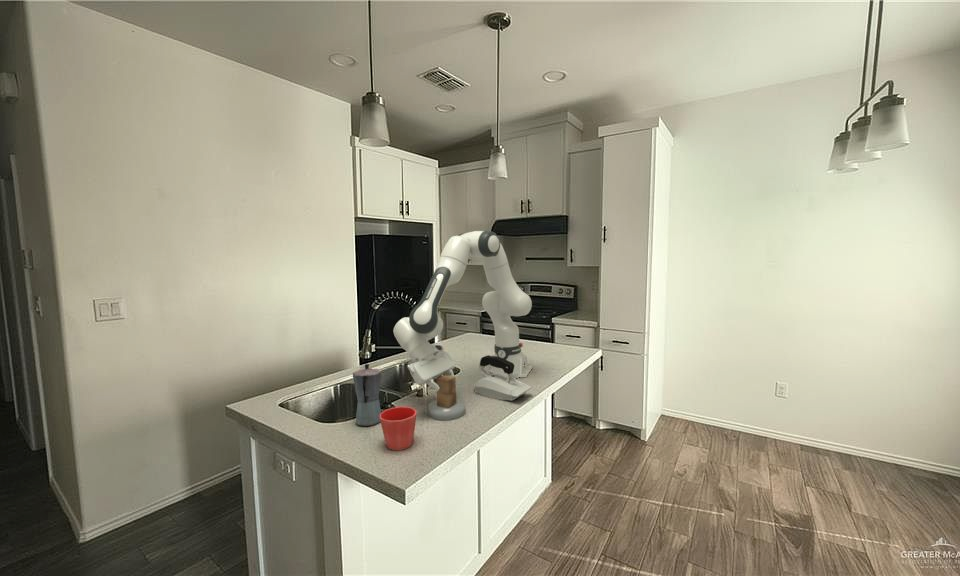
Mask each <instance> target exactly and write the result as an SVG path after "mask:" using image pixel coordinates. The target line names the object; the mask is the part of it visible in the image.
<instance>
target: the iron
mask: <svg viewBox="0 0 960 576" xmlns="http://www.w3.org/2000/svg"><path fill="white" fill-rule="evenodd" d="M487 366H491V367H492V366H493V367H496V368H501V369H503V370H504V373H506V374H508V376H507V375H505V374H501V373H493V374H492V373H491V374H490V373H489V372H487V370H486V369H485V367H487ZM478 368H479V371H480V372H481V375H483V376H484V377H483V378H480V379H478V380H476V381H475V382H474V386H473V388H474V392H475V393H476V392H477V393H476V394H478V393H479V394H478V395H480V394H481V396H483V395H485V397H488V396H489V397H488V398H492V397H493V398H492V399H495V398H497V400H502V401H514V400H515V399H517V398H519V397H521V396H522V395H524V394H525V393H526V392H528V391H530V390H531V389H532V388H533V386H530V385H528V384H526V383H525V382H523V381H522V380H521V381H520V380H519V379H518V378H517V376H518V375H521V374H518V373H514V374H513V370H514V364H513V363H512V362H509V361H507V360H505V359H504V358H501V357H497V356H493V355H485V356H482V357H481V358H480V362H479V367H478ZM515 374H516V375H515ZM514 376H515V377H514Z"/></svg>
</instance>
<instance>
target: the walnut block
mask: <svg viewBox="0 0 960 576" xmlns="http://www.w3.org/2000/svg"><path fill="white" fill-rule="evenodd" d="M435 383H436V384H439V385H440V386H441V389H440V390H439V391H437V392H436V391H435V393H436V400H437V406H439V407H443V408H448V409H449V408H450V407H452V406H454V405H455V404H457V402H456V398H457V378H456V376H455V375H454V376H449V375H447V374H443V375H441V376H439V377H437V378H435Z"/></svg>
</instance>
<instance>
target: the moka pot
mask: <svg viewBox="0 0 960 576" xmlns="http://www.w3.org/2000/svg"><path fill="white" fill-rule="evenodd" d="M352 378H353V385H354V389H355V390H354V391H355V395H356V397H357V398H356V399H357V406H356V415H355V423H356V425H358V426H360V427H361V426H363V427H364V426H365V427H369V426H373V425H376V424H378V423H381V421H380V414H381V413H382V410H381V403H380V399H379V398H380V397H379V393H380V392H381V380H382V379H381V378H382V371H381V370H379V369H378V368H372V367H370V364H368V363H366V364H364V369H359V370H356V371H354V372H352Z"/></svg>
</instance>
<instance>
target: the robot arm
mask: <svg viewBox="0 0 960 576" xmlns="http://www.w3.org/2000/svg"><path fill="white" fill-rule="evenodd" d="M470 258H471V259H479V258H480V259H481V262H482V266H483V270H484V273H485V277H486V281H487V283H488V285H490V287H491V288H493V289H494V290H492V291H488V292H486V293H485V294H483V296H482V300H481V304H482V308H483V309H484V311H485V312H486V313H487V314H488V316H489V317H490V319H491V322H492V325H493V327H494V329H493V330H494V339H495V344H494V347H493V349H494V354H493V355H492V356H497V357H501V358H504V359H505V360H507V361H509V362H512V363H513V364H514V370H513V374H514V373H518V374H521V375H518V376H517V378H516V379H519V377H520V378H527V377H528V376H529V374H530V373H531V371H532V370H533V366H532V365H530V364H528V357H527V355H526V354H525V353H523V352H522V348H523V347H524V344H523V342H520V329H519V326H518V325H517V324H516V323H515V322H514V321H513V319H512V318H511V317H521V316H522V317H523V316H526V315H528V314H529V313H530V312H531V310H532V307H533V305H532V304H533V302H532V299H531V297H530V295H528V294H527V293H525V292H524V291H523V290H522V289H521V288H520V287H519V285H518V284H517V282H516V281H515V279H514V277H513V274H512V271H511V268H510V263H509V260H508V257H507V253H506V252H505V250H504V247H503V245H502V243H501V241H500V238H499V236H498V235H497V233H496V232H493V231H492V230H491V231H490V230H474V231H469V232H463V233H459V234H458V235H453V236H451V237H450V238H448V241H447V242H446V244H445V246H444V247H443V249H442V252H441V254H440V256H439V258H438V261H437V264H436V267H435V269H434V272H433V274H432V276H431V278H430V280H429V283H428V285H427V287H426V289H425V291H424V293H423V295H422V296H421V299H420V301H419V302H418V304H416V305H415V306H414V308H413V309H412V310H411V311H410V313H409V316H407V317H406V316H405V317H402V318H401V319H399V320H398V321H397V322H396V323H395V325H394V327H393V330H392V331H393V335H394V337H395V339H396V341H397V343H398V344H399V346H401V348H402V349H403V350H405V352H407V356H408V357H409V358H410V360H411V361H408V362H407V369H408V370H409V374H410V375H411V377H412V379H413V380H414V382H415V383H416V384H417V386H419V387H420V386H423V385H426V384H427V386H428V387H430V388H432V389H434V391H435V393H436V392H437V391H439V390H440V389H441V386H440V385H439V384H436V381H434V380H436V379H437V378H439V377H441V376H443V375H449V376H454V377H455V374H454V371H453V370H454V368H455V367H456V366H457V365H456V362H455V361H454V359H453V358H452V357H451V355H450V354H449V353H448V352H447V351H446V350H445V348H444V346H443V345H442V344H433V343H430V342H429V341H430V340H432V339H434V338H436V337H437V336H439V335H440V334H441V333H442V332H443V329H444V320H443V319H442V317H441V315H439V313H438V308H439V306H440V303H441V300H442V297H443V296H444V293H445V291H446V289H447V288H448V287H449V286H450V285H451V286H452V285H455V284H457V283H458V282H460V280H461V279H462V277H463V275H464V273H465V271H466V268H467V265H468V263H469V259H470ZM531 369H532V370H531ZM529 372H530V373H529ZM489 373H491V374H493V373H501V374H505V375H507V376H508V374H506V373H504V370H503V369H501V368H496V367H493V366H491V368H490V369H489ZM515 375H516V374H515ZM527 375H528V376H527ZM514 377H515V376H514Z"/></svg>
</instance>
